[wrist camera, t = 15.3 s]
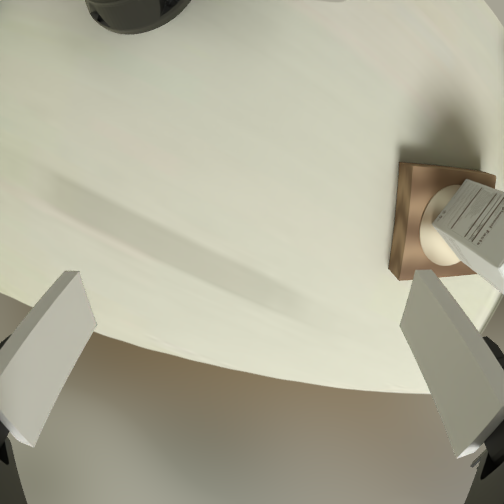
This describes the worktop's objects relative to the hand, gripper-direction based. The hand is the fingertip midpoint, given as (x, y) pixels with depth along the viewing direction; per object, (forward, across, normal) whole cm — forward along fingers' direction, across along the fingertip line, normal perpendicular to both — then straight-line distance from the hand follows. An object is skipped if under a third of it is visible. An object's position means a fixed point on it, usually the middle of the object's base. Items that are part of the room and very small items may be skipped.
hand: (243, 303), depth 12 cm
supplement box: (+27, +30, -7) cm, 41 cm away
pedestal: (+31, +28, -8) cm, 42 cm away
